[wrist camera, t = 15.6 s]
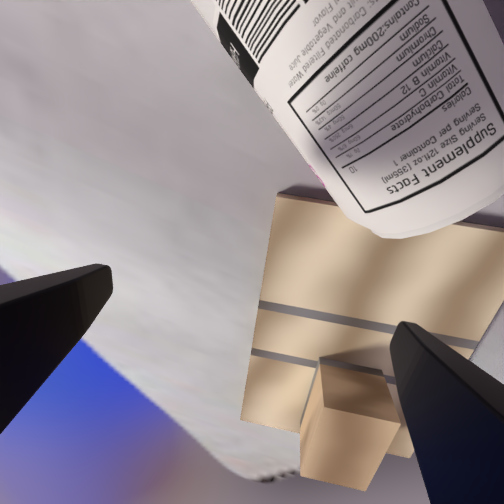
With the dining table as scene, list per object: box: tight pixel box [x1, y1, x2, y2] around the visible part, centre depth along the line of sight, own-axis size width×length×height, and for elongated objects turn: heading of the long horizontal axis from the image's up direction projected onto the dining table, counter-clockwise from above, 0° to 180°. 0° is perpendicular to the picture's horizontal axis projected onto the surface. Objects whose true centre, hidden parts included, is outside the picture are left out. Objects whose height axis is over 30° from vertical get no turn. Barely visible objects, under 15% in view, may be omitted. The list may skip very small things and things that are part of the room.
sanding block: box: [300, 357, 401, 491], centre depth 22 cm, size 5×8×4 cm, turn 173°
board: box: [240, 193, 504, 458], centre depth 22 cm, size 16×22×1 cm
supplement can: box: [190, 0, 504, 239], centre depth 12 cm, size 8×8×15 cm
